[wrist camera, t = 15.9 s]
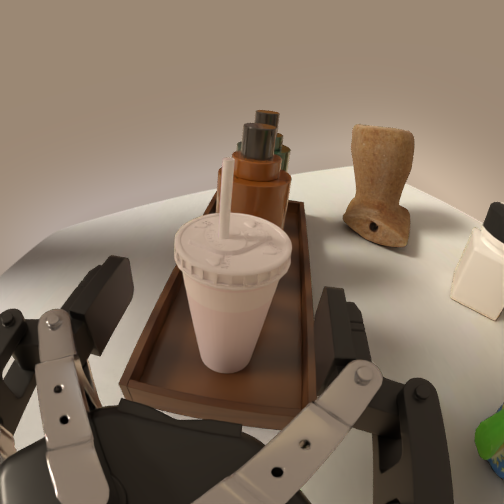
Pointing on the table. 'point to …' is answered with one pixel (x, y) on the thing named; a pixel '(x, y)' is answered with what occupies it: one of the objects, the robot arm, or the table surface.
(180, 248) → the smoothie
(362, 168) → the stone cup
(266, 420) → the tray
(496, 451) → the snack cup
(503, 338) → the table surface
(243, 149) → the amber bottle
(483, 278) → the medicine bottle
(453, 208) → the table surface
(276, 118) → the green bottle
